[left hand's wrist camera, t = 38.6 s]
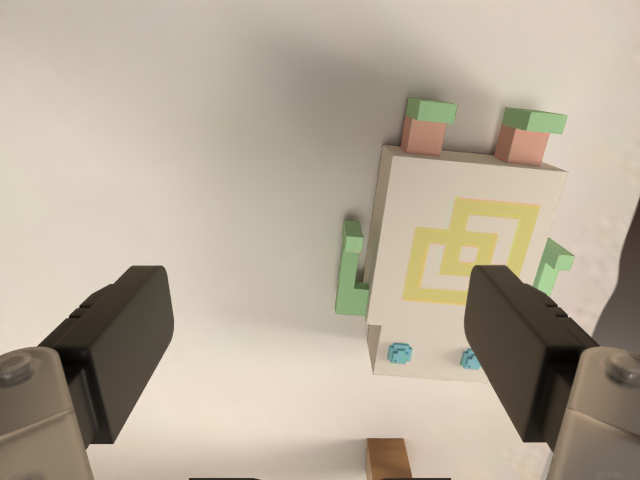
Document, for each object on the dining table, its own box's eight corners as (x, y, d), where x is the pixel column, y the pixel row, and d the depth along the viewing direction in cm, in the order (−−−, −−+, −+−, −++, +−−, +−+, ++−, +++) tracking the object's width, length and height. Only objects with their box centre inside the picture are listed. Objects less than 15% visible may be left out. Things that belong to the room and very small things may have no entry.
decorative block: (532, 391, 41) (330, 376, 40) (505, 351, 47) (328, 337, 46) (628, 121, 31) (365, 95, 31) (579, 114, 37) (357, 92, 37)
